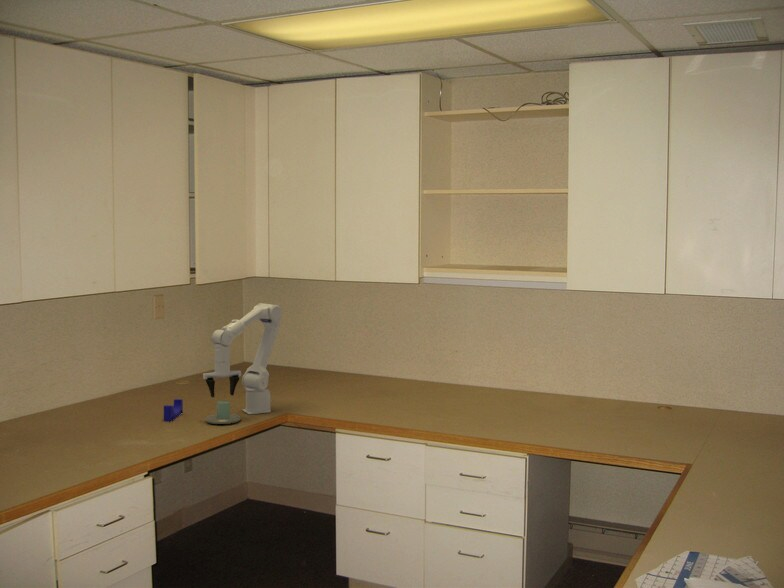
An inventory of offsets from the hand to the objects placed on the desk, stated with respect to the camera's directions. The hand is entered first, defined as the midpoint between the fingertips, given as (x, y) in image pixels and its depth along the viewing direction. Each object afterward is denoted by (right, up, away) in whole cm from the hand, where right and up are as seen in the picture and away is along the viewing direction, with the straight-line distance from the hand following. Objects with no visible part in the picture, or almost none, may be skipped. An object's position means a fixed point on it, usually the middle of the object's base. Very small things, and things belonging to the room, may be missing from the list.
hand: (222, 395), depth 308 cm
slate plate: (+1, -10, -1) cm, 10 cm away
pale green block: (+1, -8, -2) cm, 8 cm away
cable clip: (-20, -9, +3) cm, 22 cm away
